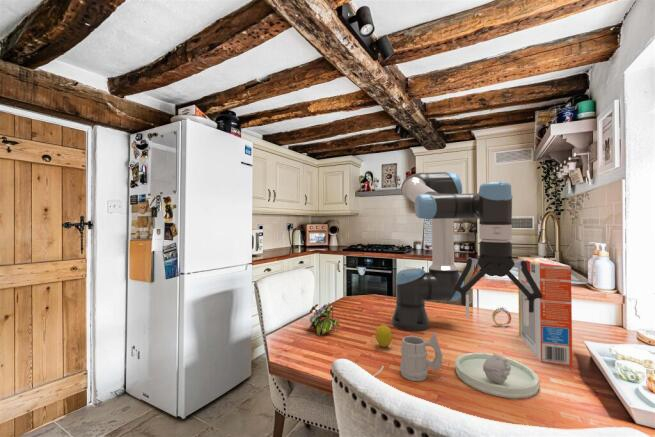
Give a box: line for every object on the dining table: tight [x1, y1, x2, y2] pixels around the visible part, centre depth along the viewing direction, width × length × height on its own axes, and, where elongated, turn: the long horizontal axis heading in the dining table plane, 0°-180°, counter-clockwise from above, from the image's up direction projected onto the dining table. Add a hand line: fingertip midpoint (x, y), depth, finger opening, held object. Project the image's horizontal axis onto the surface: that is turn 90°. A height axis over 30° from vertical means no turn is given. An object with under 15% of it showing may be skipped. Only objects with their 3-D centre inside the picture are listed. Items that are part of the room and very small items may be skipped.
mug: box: [399, 332, 443, 382], centre depth 84 cm, size 8×12×12 cm, turn 87°
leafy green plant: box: [309, 302, 340, 337], centre depth 119 cm, size 13×12×14 cm
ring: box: [491, 306, 512, 328], centre depth 123 cm, size 7×3×8 cm, turn 76°
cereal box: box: [517, 256, 573, 367], centre depth 101 cm, size 23×8×30 cm, turn 161°
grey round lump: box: [483, 353, 511, 384], centre depth 78 cm, size 6×7×7 cm
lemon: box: [375, 323, 393, 349], centre depth 103 cm, size 6×6×8 cm
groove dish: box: [455, 352, 540, 400], centre depth 83 cm, size 20×20×2 cm
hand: (495, 320), depth 78 cm, fingers open, 13 cm apart
